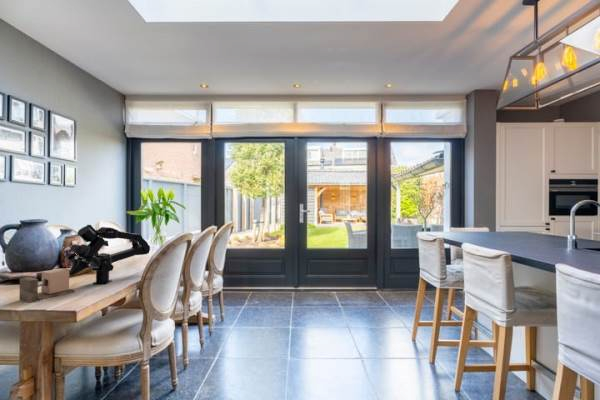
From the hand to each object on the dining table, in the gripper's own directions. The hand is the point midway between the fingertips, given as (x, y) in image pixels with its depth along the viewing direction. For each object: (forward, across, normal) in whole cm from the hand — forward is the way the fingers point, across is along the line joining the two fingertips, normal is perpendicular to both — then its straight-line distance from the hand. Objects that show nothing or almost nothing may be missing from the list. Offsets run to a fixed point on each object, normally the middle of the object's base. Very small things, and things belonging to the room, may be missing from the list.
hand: (70, 275), depth 155 cm
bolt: (+10, 0, -7) cm, 13 cm away
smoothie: (-11, -37, +22) cm, 44 cm away
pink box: (+9, 0, -1) cm, 9 cm away
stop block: (+12, 0, -2) cm, 12 cm away
